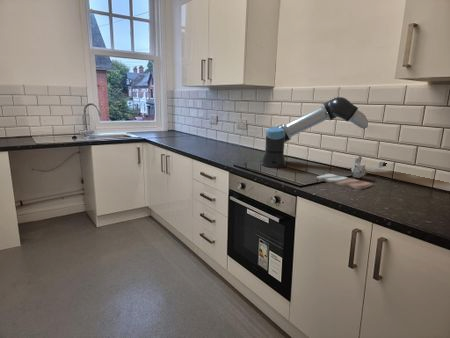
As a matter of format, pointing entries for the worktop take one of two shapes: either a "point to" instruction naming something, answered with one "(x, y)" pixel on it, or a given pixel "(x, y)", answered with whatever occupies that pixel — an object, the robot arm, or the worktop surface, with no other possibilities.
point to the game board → (344, 181)
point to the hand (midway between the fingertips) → (367, 163)
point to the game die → (358, 171)
